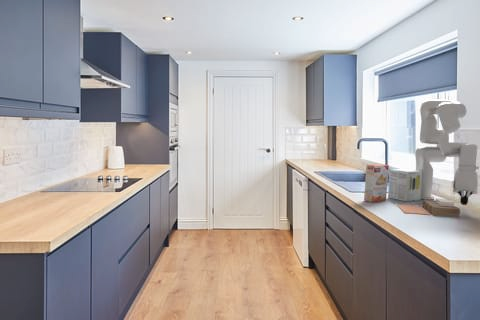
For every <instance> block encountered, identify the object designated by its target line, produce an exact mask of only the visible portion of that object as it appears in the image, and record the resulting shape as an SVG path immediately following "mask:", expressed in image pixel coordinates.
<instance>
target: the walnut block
mask: <svg viewBox="0 0 480 320" xmlns="http://www.w3.org/2000/svg"><path fill="white" fill-rule="evenodd" d="M421 207H422V208H423V209H425V210H426V211H427V212H428V213H430V215H432V216H440V217H454V218H455V217H456V218H459V217H460V213H461V209H460V208H459V207H458V206H455V205H454V206H441V205H439V204H438V203H436V199H435V200H434V199H431V200H426V199H422V206H421Z"/></svg>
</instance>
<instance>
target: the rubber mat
mask: <svg viewBox="0 0 480 320" xmlns="http://www.w3.org/2000/svg"><path fill="white" fill-rule="evenodd" d="M396 206H397V207H398V209H400V210H401V212H403V214H412V215H425V216H430V215H431V213H429V212H428V211H427V210H426V209H424V208H423V207H422V206H421V205H412V204H411V205H408V204H396Z"/></svg>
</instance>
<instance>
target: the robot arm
mask: <svg viewBox="0 0 480 320" xmlns="http://www.w3.org/2000/svg"><path fill="white" fill-rule="evenodd" d="M419 111H420V120H421V124H420V129H419V130H420V133H419V141H420V143H421V144H424V145H423V146H419V147H417V148H416V149H415V152H414V155H415V170H419V171H422V181H421V196H420V200H434V199H435V196H432V192H433V177H434V168H433V166H432V164H431V163H444V162H445V160H446V159H447V158H458V164H457V165H458V169H457V170H455V174H454V177H453V178H454V179H453V181H452V182H453V183H452V188H453V189H452V191H453V193H456V194H458V195H459V196H460V200H459V202H460V203H461V205H463V206H468V203H469V198H470V197H471V196H472V195H476V194H478V187H479V186H478V184H479V183H478V179H479V178H478V172H477V170H479V166H478V165H477V157H478V156H477V155H478V146H477V144H474V143H473V144H472V143H467V142H450V141H449V140H450V138H449V137H450V136H449V135H450V134H452V133H454V132H457V131H458V130H459V129H460V128H461V123H460V120H459V119H463V118H464V117H465V116H466V115H467V108H466V105H465V104H464V103H462V102H459V101H456V100H451V99H426V100H424V101H423V102H422V103H421V105H420V109H419ZM435 115H438V118H439V122H440V125H441V126H442V128H437V127H438V126H437V125H438V121H437V118H436V116H435ZM425 145H426V146H425ZM428 145H430V146H428ZM431 145H436V146H431Z"/></svg>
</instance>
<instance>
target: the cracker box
mask: <svg viewBox="0 0 480 320" xmlns="http://www.w3.org/2000/svg"><path fill="white" fill-rule="evenodd" d="M389 172H390V167H389V164H381V163H380V164H378V163H377V164H366V168H365V179H364V180H365V181H364V194H363V195H364V197H363V201H364V202H367V203H368V202H370V203H376V202H383V201H387V196H388V184H389Z"/></svg>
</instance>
